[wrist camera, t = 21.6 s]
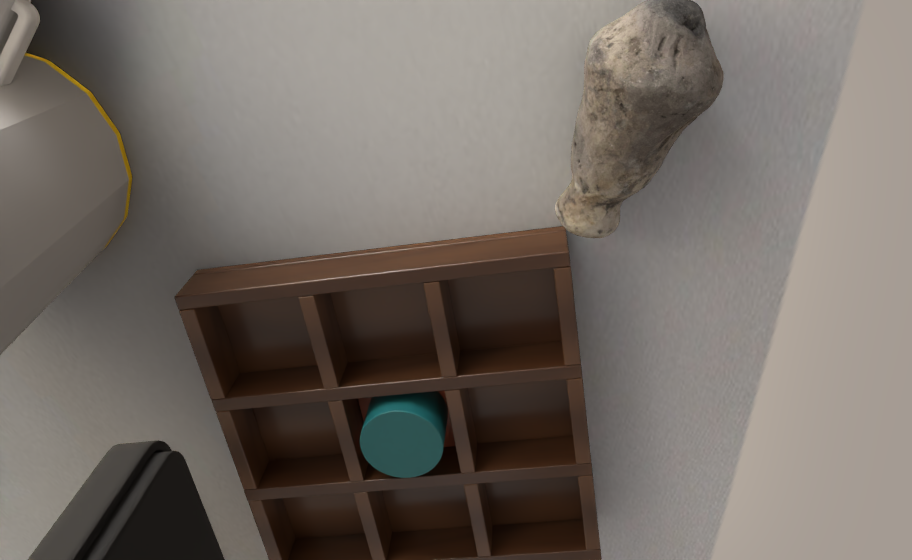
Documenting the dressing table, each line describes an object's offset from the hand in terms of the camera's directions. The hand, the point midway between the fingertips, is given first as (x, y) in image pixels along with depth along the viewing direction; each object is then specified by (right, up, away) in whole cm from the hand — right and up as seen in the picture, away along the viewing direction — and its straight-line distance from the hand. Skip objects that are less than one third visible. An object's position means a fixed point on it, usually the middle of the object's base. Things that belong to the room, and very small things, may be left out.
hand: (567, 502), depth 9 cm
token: (-4, -5, +33) cm, 34 cm away
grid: (-4, -4, +34) cm, 35 cm away
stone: (+7, +10, +26) cm, 29 cm away
